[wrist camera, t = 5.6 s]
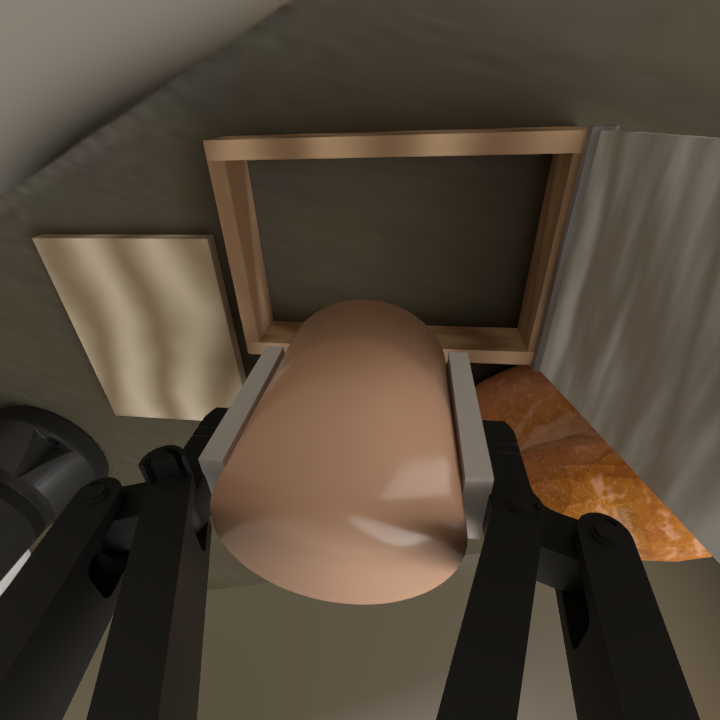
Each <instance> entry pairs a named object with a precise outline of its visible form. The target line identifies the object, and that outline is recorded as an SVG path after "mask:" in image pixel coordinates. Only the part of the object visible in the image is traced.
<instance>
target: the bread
mask: <svg viewBox="0 0 720 720" xmlns="http://www.w3.org/2000/svg"><path fill="white" fill-rule="evenodd" d="M530 366H531V365H518V366H515V367H513V368H510V369H508V370H505V371H502V372H500V373H498V374H496V375H494V376H492V377H490V378H488V379H486V380H484V381H482V382H480V383H479V384H478V385H477V386H476V387H475V390H476V395H477V400H478V405H479V409H480V414H481V419H482V420H491V421H505V422H506V423H507V424H508V425H509V426H510V427H511V428H512V430H513V431H514V432H515V436H516V439H517V442H518V446H519V449H520V452H521V455H522V459H523V462H524V465H525V469H526V472H527V475H528V479H529V482H530V485H531V489H532V491H533V493H534V494H535V495H536V496H537V497H538V498H540V500H541V502H542V503H543V505H545V506H546V507H548V508H549V509H551V510H553V511H556V512H558V513H560V514H563V515H566V516H569V517H572V518H575V519H578V520H579V518H580V517H581V515H584V514H586V513H589V512H597V513H602V514H605V515H608V516H611V517H612V518H614V519H616V520H617V521H619V522H620V523H621V524H623V525H624V526H625V527H626V528H627V529H628V530H629V532H630V534H631V536H632V537H633V539H634V542H635V544H636V547H637V550H638V553H639V555H640V558H641V560H652V561H683V560H688V559H697V558H706V557H713V556H712V555H711V554H710V553H709V552H708V550H707V549H706V548H705V547H704V546H703V545H702V544H701V543H700V542H699V541H698V540H697V539H696V538H695V537H694V535H693V534H692V533H691V532H690V531H689V530H688V529H687V528H686V527H685V526H684V525H683V524H682V523H681V521H680V520H679V519H678V518H677V517H676V516H675V515H674V514H673V513H672V512H671V511H670V510H669V509H668V508H667V506H666V505H665V504H664V503H663V502H662V501H661V500H660V499H659V498H658V497H657V496H656V495H655V494H654V492H653V491H652V490H651V489H650V488H649V487H648V486H647V485H646V484H645V483H644V482H643V481H642V480H641V478H640V477H639V476H638V475H637V474H636V473H635V472H634V471H633V470H632V469H631V468H630V467H629V466H628V465H627V463H626V462H625V461H624V460H623V459H622V458H621V457H620V456H619V455H618V454H617V453H616V452H615V451H614V449H613V448H612V447H611V446H610V445H609V444H608V443H607V442H606V441H605V440H604V439H603V438H602V437H601V436H600V434H599V433H598V432H597V431H596V430H595V429H594V428H593V427H592V426H591V425H590V424H589V423H588V422H587V420H586V419H585V418H584V417H583V416H582V415H581V414H580V413H579V412H578V411H577V410H576V409H575V408H574V407H573V405H572V404H571V403H570V402H569V401H568V400H567V399H566V398H565V397H564V396H563V395H562V394H561V393H560V391H559V390H558V389H557V388H556V387H555V386H554V385H553V384H552V383H551V382H550V381H549V380H548V379H547V378H546V376H545V375H544V374H543V373H542V372H533V371H532V369H531V367H530Z"/></svg>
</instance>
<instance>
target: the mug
mask: <svg viewBox="0 0 720 720" xmlns="http://www.w3.org/2000/svg"><path fill="white" fill-rule="evenodd" d="M30 555H31V552H30V550H29V549H28V550H27V551H26V552H25V554H24V555H23V556H22V557H21V558H20V559H19V561H18V562H17V563H16V564H15V565H14V566H13V567H12V569H11V570H10V571H9V572H8V573H7V574H6V576H5V577H4V578H3V579H2V580H1V581H0V595H1V594H2V593H3V592H4V591H5V590H6V588H7V587H8V586H9V584H10V583H11V582H12V580H13V579H14V577H15V576H16V575H17V573H18V572H19V571H20V569H21V568H22V566H23V565H24V564H25V562H26V561H27V560H28V558H29V557H30Z"/></svg>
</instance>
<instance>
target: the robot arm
mask: <svg viewBox="0 0 720 720" xmlns="http://www.w3.org/2000/svg"><path fill="white" fill-rule="evenodd" d="M284 354H285V352H284V347H281V346H266V348H265V350H264V351H263V353H262V355H261V356H260V358H259V359H258V361H257V363H256V364H255V366H254V368H253V369H252V371H251V373H250V374H249V376H248V378H247V379H246V381H245V383H244V384H243V386H242V388H241V389H240V391H239V392H238V394H237V396H236V397H235V399H234V401H233V402H232V404H231V406H230V407H229V408H221V407H216V408H215V409H213V410H212V411H211V412H210V413H208V414H207V415H206V416H205V417H204V418H203V420H202V421H201V423H200V424H199V427H198V428H197V429H196V430H195V432H194V433H193V436H191V438H190V439H189V441H188V442H187V444H186V445H185V447H184V448H183V449H182V448H181V447H179V446H175V445H167V446H162V447H159V448H156V449H154V450H153V451H151V452H149V453H148V454H147V455H146V456H144V457H143V458H142V460H141V461H140V463H139V465H138V466H139V468H140V470H141V472H142V474H143V476H144V479H145V481H146V482H144V483H139V484H134V485H129V486H123V487H122V485H121V483H120V481H118V480H117V479H116V478H111V477H108V464H107V461H106V458H105V456H104V454H103V453H102V451H101V450H100V448H99V447H98V446H97V445H96V443H95V442H94V441H93V440H92V439H91V438H90V437H89V436H88V435H86V434H85V433H84V432H83V431H82V430H80V429H79V428H78V427H76V426H75V425H73V424H71V423H70V422H68V421H66V420H65V419H63V418H61V417H59V416H56V415H54V414H52V413H49V412H46V411H43V410H39V409H35V408H30V407H10V408H6V409H3V410H1V411H0V581H1V580H2V579H3V578H4V577H5V576H6V574H7V573H8V572H9V571H10V570H11V569H12V567H13V566H14V565H15V564H16V563H17V562H18V561H19V559H20V558H21V557H22V556H23V555H24V554H25V552H26V551H27V550H28V549H29V548H30V547H31V545H32V544H33V543H34V542H35V541H36V539H37V538H38V537H39V536H40V535H41V534H42V533H43V532H44V530H45V529H46V528H47V527H48V526H49V525H51V524H52V523H54V522H55V523H54V524H53V525H52V527H51V528H50V529H49V531H48V532H47V534H46V535H45V536H44V538H43V539H42V540H41V542H40V543H39V544H38V546H37V547H36V549H35V550H34V551H33V553H32V554H31V555H30V557H29V558H28V560H27V561H26V562H25V564H24V565H23V566H22V568H21V569H20V571H19V572H18V573H17V575H16V576H15V577H14V579H13V580H12V582H11V583H10V584H9V586H8V587H7V588H6V590H5V591H4V593H3V594H2V595H1V597H0V720H62V719H63V717H64V715H65V712H66V711H67V709H68V707H69V704H70V702H71V700H72V698H73V696H74V694H75V692H76V690H77V688H78V686H79V684H80V682H81V680H82V678H83V675H84V673H85V671H86V669H87V667H88V665H89V663H90V661H91V659H92V657H93V655H94V653H95V651H96V648H97V646H98V644H99V642H100V640H101V638H102V636H103V634H104V632H105V630H106V628H107V626H108V624H109V622H110V620H111V617H112V615H113V613H114V615H113V619H112V623H111V627H110V630H109V634H108V638H107V642H106V646H105V650H104V654H103V658H102V661H101V665H100V669H99V673H98V677H97V681H96V685H95V689H94V693H93V696H92V701H91V705H90V708H89V712H88V716H87V720H197V711H198V698H199V685H200V672H201V658H202V646H203V632H204V620H205V607H206V593H207V581H208V568H209V555H210V542H211V529H212V526H211V521H210V518H209V517H210V515H211V510H210V502H211V495H212V492H213V489H214V487H215V484H216V482H217V480H218V478H219V477H220V475H221V473H222V471H223V469H224V467H225V465H226V463H227V461H228V460H229V458H230V456H231V454H232V452H233V450H234V448H235V446H236V445H237V443H238V441H239V439H240V437H241V435H242V433H243V431H244V430H245V428H246V426H247V424H248V422H249V420H250V418H251V416H252V414H253V413H254V411H255V409H256V407H257V405H258V403H259V401H260V399H261V398H262V396H263V394H264V392H265V390H266V388H267V386H268V384H269V382H270V381H271V379H272V377H273V375H274V373H275V371H276V369H277V367H278V366H279V364H280V362H281V360H282V358H283V356H284ZM447 375H448V383H449V391H450V399H451V407H452V415H453V423H454V431H455V439H456V447H457V455H458V463H459V471H460V479H461V487H462V495H463V502H464V510H465V518H466V526H467V534H468V538H472V539H481V537H482V532H484V543H483V547H482V550H481V554H480V558H479V562H478V565H477V569H476V573H475V577H474V580H473V584H472V588H471V591H470V595H469V599H468V603H467V606H466V610H465V614H464V618H463V621H462V625H461V629H460V633H459V636H458V640H457V644H456V648H455V652H454V655H453V659H452V662H451V666H450V670H449V674H448V677H447V681H446V685H445V689H444V692H443V696H442V700H441V704H440V707H439V711H438V715H437V718H436V720H517V713H518V707H519V699H520V692H521V685H522V678H523V671H524V663H525V656H526V648H527V641H528V635H529V627H530V620H531V613H532V606H533V598H534V592H535V584H536V581H539V582H541V583H543V584H546V585H548V586H551V587H553V588H555V590H556V596H557V602H558V608H559V614H560V620H561V626H562V631H563V637H564V643H565V649H566V654H567V661H568V666H569V673H570V678H571V684H572V690H573V696H574V702H575V707H576V714H577V719H578V720H700V718H699V716H698V713H697V710H696V707H695V705H694V702H693V700H692V697H691V694H690V691H689V689H688V686H687V683H686V680H685V678H684V675H683V672H682V670H681V667H680V664H679V661H678V659H677V656H676V653H675V650H674V648H673V645H672V642H671V640H670V637H669V634H668V632H667V629H666V626H665V623H664V620H663V618H662V615H661V612H660V610H659V607H658V604H657V602H656V599H655V596H654V593H653V591H652V588H651V585H650V582H649V580H648V577H647V574H646V572H645V569H644V566H643V563H642V561H641V558H640V555H639V553H638V550H637V547H636V544H635V542H634V539H633V537H632V536H631V534H630V532H629V530H628V529H627V528H626V527H625V526H624V525H623V524H621V523H620V522H619V521H617V520H616V519H614V518H612V517H611V516H608V515H605V514H602V513H597V512H589V513H586V514H584V515H581V517H580V518H579V520H578V519H575V518H572V517H569V516H566V515H563V514H560V513H558V512H556V511H553V510H551V509H549V508H548V507H546V506H545V505H543V503H542V502H541V500H540V498H538V497H537V496H536V495H535V494H534V493H533V491H532V489H531V485H530V482H529V479H528V475H527V472H526V469H525V465H524V462H523V459H522V455H521V452H520V449H519V446H518V442H517V439H516V436H515V432H514V431H513V430H512V428H511V427H510V426H509V425H508V424H507V423H506V422H505V421H491V420H482V419H481V414H480V409H479V405H478V400H477V395H476V390H475V386H474V381H473V376H472V371H471V367H470V362H469V357H468V353H464V352H449V354H448V363H447Z"/></svg>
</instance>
